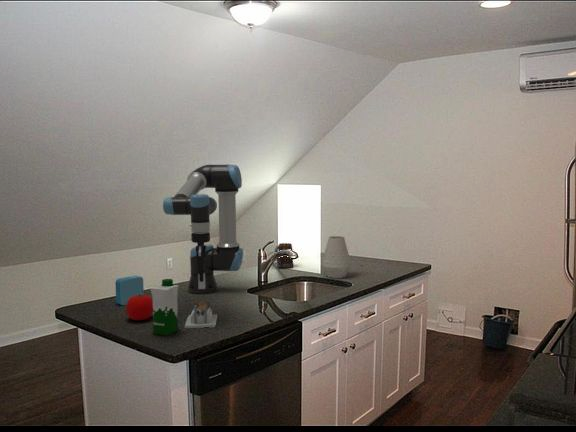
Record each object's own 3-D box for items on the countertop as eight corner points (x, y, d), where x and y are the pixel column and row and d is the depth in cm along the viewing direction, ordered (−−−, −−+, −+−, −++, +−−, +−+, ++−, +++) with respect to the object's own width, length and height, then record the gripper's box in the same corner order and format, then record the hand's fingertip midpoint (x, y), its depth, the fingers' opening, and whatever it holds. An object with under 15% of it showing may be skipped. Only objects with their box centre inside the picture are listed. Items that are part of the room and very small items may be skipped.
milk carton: (181, 329, 192) (180, 279, 190) (168, 337, 183) (166, 284, 182) (162, 327, 195) (161, 277, 193) (148, 334, 187) (147, 282, 185)
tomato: (127, 324, 198) (127, 299, 197) (124, 316, 209) (124, 292, 208) (156, 321, 202) (155, 296, 201) (152, 313, 214) (151, 289, 213)
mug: (283, 265, 319) (283, 242, 318) (296, 266, 313) (296, 243, 312) (268, 269, 307) (268, 245, 305) (282, 271, 301) (282, 246, 299)
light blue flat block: (138, 299, 237) (138, 274, 235) (144, 300, 234) (143, 276, 232) (115, 304, 228) (115, 279, 226) (121, 306, 225) (120, 280, 223)
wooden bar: (199, 306, 206) (199, 301, 206) (205, 306, 207) (205, 301, 206) (196, 313, 196) (196, 308, 196) (203, 313, 196) (203, 308, 196)
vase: (343, 272, 297) (343, 234, 294) (356, 278, 280) (356, 238, 278) (316, 274, 291) (316, 235, 289) (328, 280, 275) (328, 240, 273)
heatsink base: (188, 317, 208) (188, 299, 207) (217, 316, 209) (216, 298, 208) (184, 328, 194) (184, 308, 193) (215, 327, 195) (215, 307, 194)
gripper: (192, 230, 207) (194, 284, 209) (189, 234, 194) (191, 292, 196) (210, 229, 207) (212, 284, 210) (208, 234, 194) (210, 292, 197)
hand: (201, 288), depth 203 cm, fingers closed
